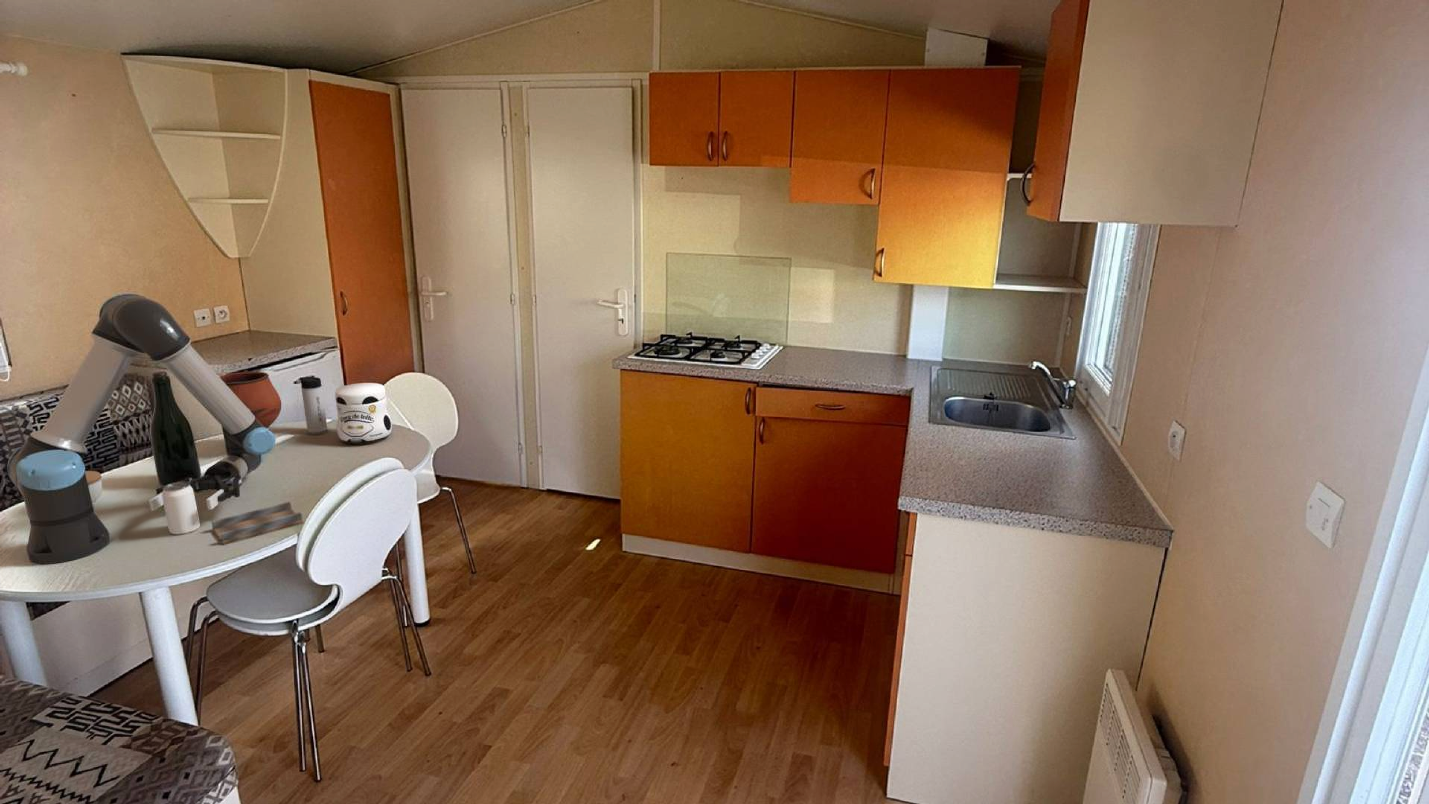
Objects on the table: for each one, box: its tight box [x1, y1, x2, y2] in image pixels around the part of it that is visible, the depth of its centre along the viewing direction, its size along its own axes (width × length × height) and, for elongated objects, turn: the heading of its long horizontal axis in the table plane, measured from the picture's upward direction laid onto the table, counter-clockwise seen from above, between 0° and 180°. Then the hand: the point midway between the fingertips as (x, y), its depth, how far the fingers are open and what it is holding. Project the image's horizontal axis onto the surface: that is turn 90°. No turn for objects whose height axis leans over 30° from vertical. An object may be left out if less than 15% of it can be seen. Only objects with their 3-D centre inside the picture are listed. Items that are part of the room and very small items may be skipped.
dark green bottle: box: [149, 371, 202, 487], centre depth 216 cm, size 10×10×33 cm
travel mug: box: [298, 376, 329, 436], centre depth 262 cm, size 6×7×20 cm
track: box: [211, 501, 304, 546], centre depth 193 cm, size 18×11×3 cm, turn 135°
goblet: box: [219, 371, 282, 429], centre depth 243 cm, size 19×19×25 cm
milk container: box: [334, 382, 393, 444], centre depth 256 cm, size 17×17×18 cm
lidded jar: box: [85, 470, 103, 505], centre depth 203 cm, size 11×11×9 cm
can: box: [162, 482, 201, 536], centre depth 190 cm, size 6×6×12 cm
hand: (180, 505), depth 189 cm, fingers open, 13 cm apart
